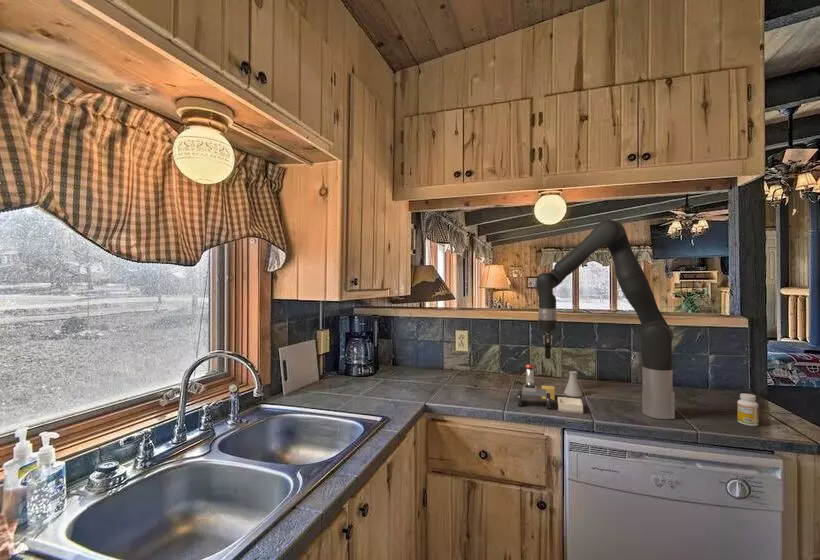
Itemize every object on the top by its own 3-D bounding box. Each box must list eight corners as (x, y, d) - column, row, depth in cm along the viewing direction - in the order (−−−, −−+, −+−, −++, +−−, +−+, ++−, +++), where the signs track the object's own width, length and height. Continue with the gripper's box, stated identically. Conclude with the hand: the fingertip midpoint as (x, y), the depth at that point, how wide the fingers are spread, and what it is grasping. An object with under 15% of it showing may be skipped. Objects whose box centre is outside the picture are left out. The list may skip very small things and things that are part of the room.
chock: (554, 396, 160) (554, 386, 160) (554, 400, 155) (554, 389, 155) (541, 395, 161) (541, 385, 161) (541, 398, 157) (541, 388, 157)
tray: (580, 406, 147) (580, 398, 147) (583, 413, 139) (583, 405, 139) (557, 404, 150) (557, 396, 150) (558, 411, 142) (558, 403, 142)
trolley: (550, 403, 150) (550, 385, 150) (550, 410, 143) (550, 391, 143) (518, 400, 154) (518, 382, 154) (517, 407, 147) (517, 388, 147)
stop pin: (534, 389, 150) (534, 364, 150) (534, 392, 147) (534, 366, 147) (525, 388, 151) (525, 363, 151) (525, 391, 148) (524, 365, 148)
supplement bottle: (748, 420, 132) (748, 392, 132) (763, 426, 127) (763, 397, 127) (733, 420, 132) (733, 392, 132) (747, 426, 127) (747, 397, 127)
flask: (571, 398, 157) (571, 374, 157) (560, 393, 164) (560, 370, 164) (586, 396, 159) (586, 373, 159) (574, 392, 166) (574, 369, 166)
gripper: (557, 320, 157) (557, 362, 157) (556, 317, 170) (556, 355, 170) (538, 319, 160) (538, 360, 160) (538, 316, 173) (538, 354, 173)
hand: (547, 358), depth 165 cm, fingers closed
